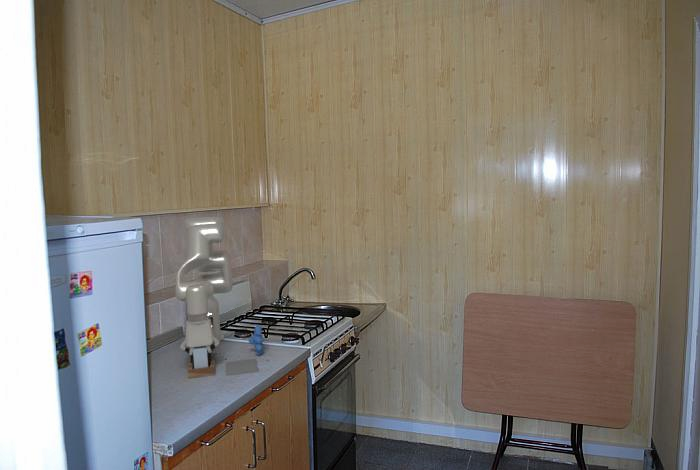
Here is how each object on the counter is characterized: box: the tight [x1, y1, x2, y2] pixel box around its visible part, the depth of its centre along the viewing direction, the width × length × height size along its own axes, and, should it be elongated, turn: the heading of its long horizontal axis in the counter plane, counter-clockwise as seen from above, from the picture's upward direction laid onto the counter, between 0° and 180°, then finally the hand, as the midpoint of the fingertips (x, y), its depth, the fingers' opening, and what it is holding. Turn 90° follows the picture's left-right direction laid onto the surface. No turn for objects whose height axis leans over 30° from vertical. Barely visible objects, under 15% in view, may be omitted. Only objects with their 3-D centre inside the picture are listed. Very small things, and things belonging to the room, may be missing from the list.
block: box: [193, 346, 209, 369], centre depth 185 cm, size 5×5×10 cm
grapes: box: [248, 324, 265, 356], centre depth 204 cm, size 12×7×12 cm, turn 12°
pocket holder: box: [187, 358, 216, 380], centre depth 185 cm, size 10×10×3 cm
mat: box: [225, 357, 259, 377], centre depth 189 cm, size 14×12×1 cm
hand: (201, 362), depth 185 cm, fingers closed on block, 5 cm apart
